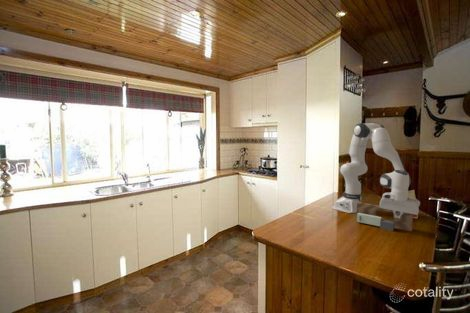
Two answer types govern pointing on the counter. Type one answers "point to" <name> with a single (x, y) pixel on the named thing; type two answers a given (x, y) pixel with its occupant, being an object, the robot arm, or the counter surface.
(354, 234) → the counter surface
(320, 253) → the counter surface
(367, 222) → the sliding door
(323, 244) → the counter surface
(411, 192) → the milk carton
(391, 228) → the block
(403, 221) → the wall frame
